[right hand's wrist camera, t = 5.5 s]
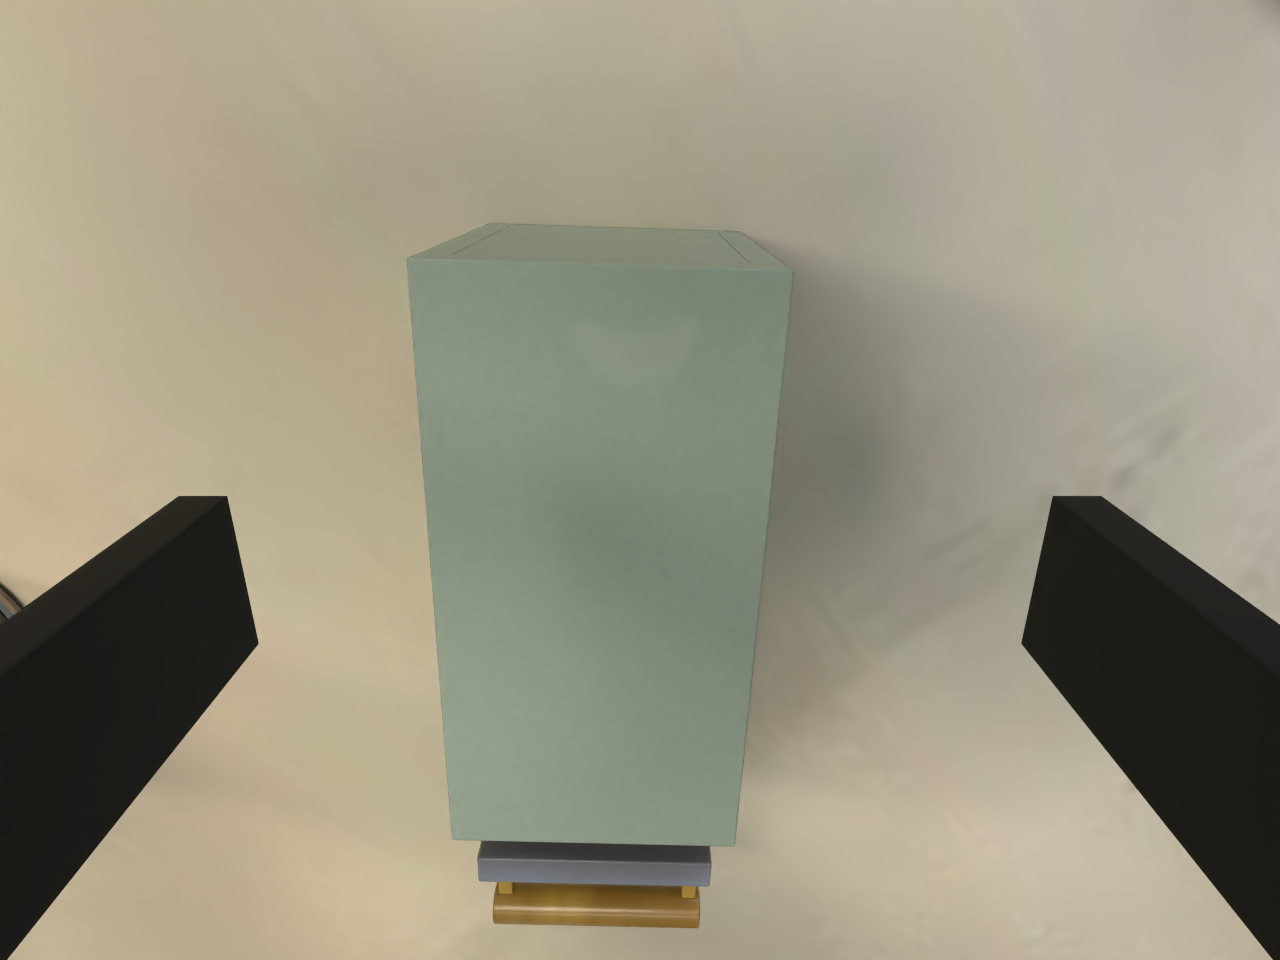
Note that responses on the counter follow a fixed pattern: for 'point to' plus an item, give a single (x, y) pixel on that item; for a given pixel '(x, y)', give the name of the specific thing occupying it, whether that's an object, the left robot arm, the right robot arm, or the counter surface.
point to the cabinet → (597, 521)
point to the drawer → (595, 883)
